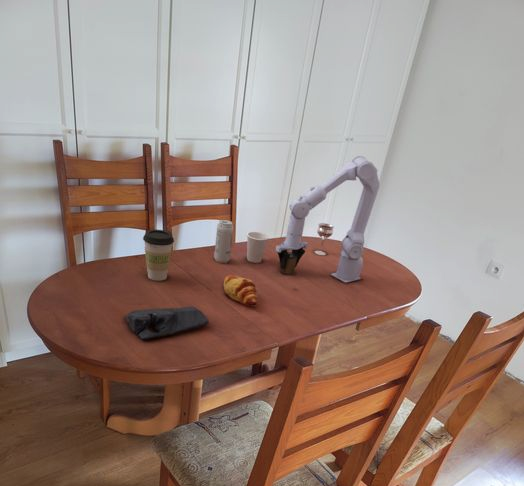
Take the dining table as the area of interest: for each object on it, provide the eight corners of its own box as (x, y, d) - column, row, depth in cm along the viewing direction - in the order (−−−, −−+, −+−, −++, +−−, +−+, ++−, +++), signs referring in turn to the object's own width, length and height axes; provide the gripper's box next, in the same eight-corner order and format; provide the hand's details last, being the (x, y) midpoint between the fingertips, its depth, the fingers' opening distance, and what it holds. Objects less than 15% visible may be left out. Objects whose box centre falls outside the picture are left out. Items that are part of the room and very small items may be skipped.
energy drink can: (229, 264, 179) (233, 225, 171) (213, 262, 178) (217, 223, 170) (230, 258, 184) (234, 220, 176) (214, 256, 184) (218, 218, 176)
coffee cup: (136, 277, 158) (136, 233, 150) (153, 268, 166) (154, 226, 158) (161, 285, 155) (163, 242, 147) (177, 276, 163) (179, 234, 155)
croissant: (218, 291, 166) (209, 273, 160) (242, 277, 167) (234, 259, 162) (246, 319, 151) (238, 301, 145) (272, 303, 152) (265, 284, 147)
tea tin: (287, 268, 185) (290, 250, 181) (297, 273, 181) (300, 256, 178) (277, 270, 181) (280, 252, 178) (286, 275, 178) (290, 258, 174)
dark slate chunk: (214, 332, 135) (215, 318, 133) (137, 343, 125) (138, 327, 122) (194, 307, 146) (195, 293, 144) (122, 315, 136) (122, 300, 133)
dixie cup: (249, 264, 182) (253, 239, 176) (240, 256, 188) (243, 231, 182) (268, 263, 186) (272, 238, 180) (258, 255, 192) (262, 231, 186)
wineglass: (312, 248, 208) (318, 222, 201) (327, 251, 208) (333, 224, 201) (312, 254, 202) (318, 226, 196) (327, 257, 202) (334, 229, 196)
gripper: (301, 227, 180) (294, 260, 187) (272, 231, 171) (267, 266, 178) (314, 233, 176) (306, 267, 183) (285, 238, 167) (279, 273, 174)
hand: (288, 267), depth 180 cm, fingers closed on tea tin, 5 cm apart
